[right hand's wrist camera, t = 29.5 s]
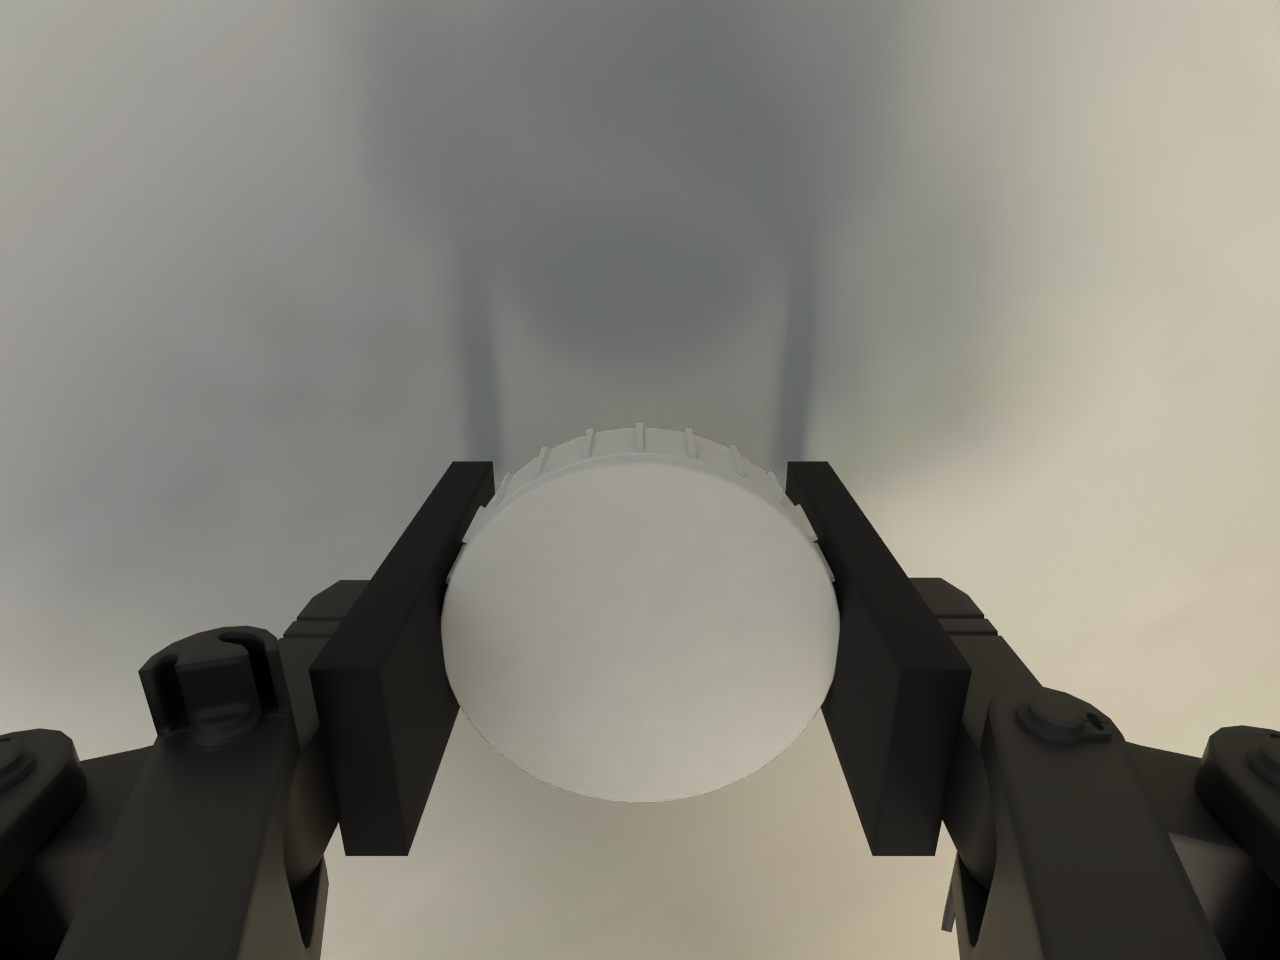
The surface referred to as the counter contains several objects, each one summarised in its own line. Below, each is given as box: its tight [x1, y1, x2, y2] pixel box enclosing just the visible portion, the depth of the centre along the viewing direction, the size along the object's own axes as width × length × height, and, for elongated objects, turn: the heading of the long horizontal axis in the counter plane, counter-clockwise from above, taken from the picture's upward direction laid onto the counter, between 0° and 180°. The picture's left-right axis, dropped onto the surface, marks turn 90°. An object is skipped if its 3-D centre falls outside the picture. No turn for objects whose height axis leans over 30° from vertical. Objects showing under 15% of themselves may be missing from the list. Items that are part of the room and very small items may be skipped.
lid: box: [441, 422, 840, 803], centre depth 11 cm, size 6×6×2 cm
